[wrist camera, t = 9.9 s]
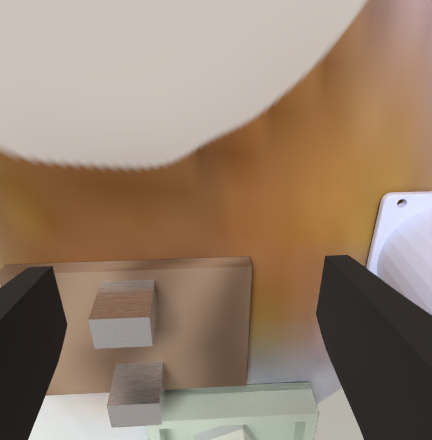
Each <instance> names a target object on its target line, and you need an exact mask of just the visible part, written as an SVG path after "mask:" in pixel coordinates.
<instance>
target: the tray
mask: <svg viewBox="0 0 432 440" xmlns="http://www.w3.org/2000/svg"><path fill="white" fill-rule="evenodd" d="M318 417H319V411H318V408H317V404H316V401H315V398H314V395H313V392H312V388H311V385H310V382H294V383H274V384H253V385H246V386H229V387H208V388H188V389H167V390H164V404H163V417H162V425H149V426H146V427H147V434H148V440H194V435H195V434H198V433H201V432H204V431H207V430H210V429H212V428H215V427H218V426H227V425H247V426H248V428H249V429H250V431H251V432H252V433H253V435H254V436H255V437H256V439H257V440H314V438H315V432H316V428H317V422H318Z"/></svg>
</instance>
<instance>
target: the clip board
mask: <svg viewBox="0 0 432 440" xmlns="http://www.w3.org/2000/svg"><path fill="white" fill-rule="evenodd" d="M42 266H53V270H54V274H55V278H56V282H57V286H58V289H59V293H60V297H61V301H62V305H63V309H64V313H65V317H66V321H67V330H66V334H65V338H64V343H63V347H62V351H61V354H60V358H59V362H58V364H57V367H56V370H55V372H54V375H53V377H52V380H51V383H50V385H49V388H48V390H47V393H46V395H64V394H85V393H105V392H110V395H109V399H108V404H107V408H108V413H109V417H110V422H111V426H112V427H130V426H149V425H162V417H163V404H164V390H167V389H188V388H208V387H229V386H246V380H247V359H248V338H249V318H250V297H251V277H252V264H251V260H250V256H248V257H219V258H189V259H160V260H130V261H101V262H71V263H42V264H12V265H4V267H3V268H2V269H1V271H0V285H1V287H2V286H3V285H5V284H6V283H7V282H9V281H10V280H11V279H13V278H14V277H15V276H17V275H18V274H19V273H21V272H22V271H24V270H25V269H26V268H28V267H42Z"/></svg>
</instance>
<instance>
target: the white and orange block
mask: <svg viewBox="0 0 432 440" xmlns="http://www.w3.org/2000/svg"><path fill="white" fill-rule="evenodd" d="M194 440H257V439H256V437H255V436H254V435H253V433H252V432H251V431H250V429H249V428H248V426H247V425H227V426H218V427H215V428H212V429H210V430H207V431H204V432H201V433H198V434H195V435H194Z"/></svg>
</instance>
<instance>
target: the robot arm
mask: <svg viewBox="0 0 432 440" xmlns="http://www.w3.org/2000/svg"><path fill="white" fill-rule="evenodd" d="M401 199H403V201H402V203H401V204H398V205H397V203H398V201H399V200H401ZM316 315H317V319H318V323H319V326H320V330H321V334H322V337H323V341H324V344H325V347H326V350H327V352H328V355H329V357H330V360H331V362H332V364H333V367H334V369H335V371H336V374H337V376H338V379H339V381H340V383H341V385H342V388H343V390H344V392H345V395H346V397H347V399H348V401H349V404H350V406H351V409H352V411H353V413H354V416H355V418H356V420H357V423H358V425H359V427H360V430H361V433H362V435H363V438H364V440H432V191H430V192H393V193H388V194H386V195H385V196H384V197H383V198H382V200H381V203H380V207H379V212H378V216H377V221H376V225H375V230H374V234H373V239H372V243H371V248H370V252H369V257H368V261H367V265H366V268H365V267H364V266H363V265H361V264H360V263H359V262H357V261H356V260H354V259H353V258H351V257H350V256H348V255H337V256H325V261H324V268H323V274H322V280H321V287H320V293H319V299H318V305H317V312H316ZM66 330H67V321H66V317H65V313H64V309H63V305H62V301H61V297H60V293H59V289H58V286H57V282H56V278H55V274H54V270H53V266H42V267H28V268H26V269H25V270H24V271H22V272H21V273H19V274H18V275H17V276H15V277H14V278H13V279H11V280H10V281H9V282H7V283H6V284H5V285H3V286H2V287H1V288H0V440H28V438H29V436H30V433H31V431H32V428H33V426H34V423H35V421H36V418H37V415H38V413H39V410H40V408H41V405H42V403H43V400H44V398H45V395H46V393H47V390H48V388H49V385H50V383H51V380H52V377H53V375H54V372H55V370H56V367H57V364H58V362H59V358H60V354H61V351H62V347H63V343H64V338H65V334H66Z"/></svg>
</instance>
